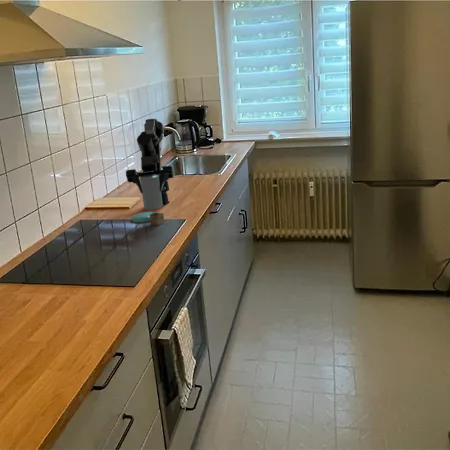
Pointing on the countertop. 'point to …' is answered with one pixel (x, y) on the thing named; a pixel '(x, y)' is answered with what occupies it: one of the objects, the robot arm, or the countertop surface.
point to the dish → (141, 217)
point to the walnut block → (156, 218)
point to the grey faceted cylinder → (151, 191)
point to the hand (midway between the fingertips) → (151, 191)
